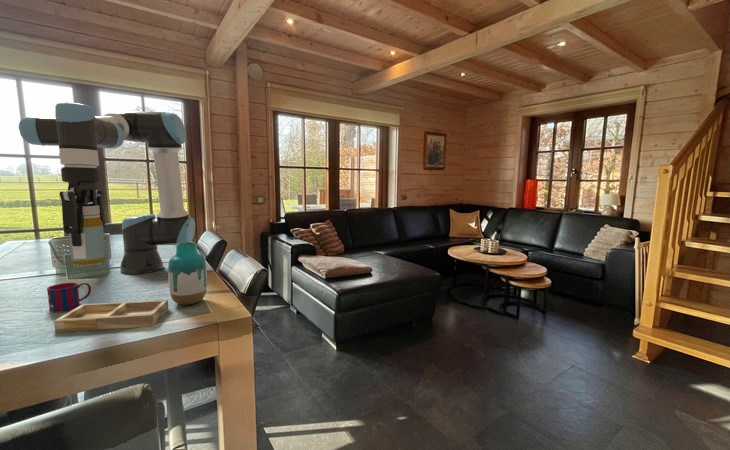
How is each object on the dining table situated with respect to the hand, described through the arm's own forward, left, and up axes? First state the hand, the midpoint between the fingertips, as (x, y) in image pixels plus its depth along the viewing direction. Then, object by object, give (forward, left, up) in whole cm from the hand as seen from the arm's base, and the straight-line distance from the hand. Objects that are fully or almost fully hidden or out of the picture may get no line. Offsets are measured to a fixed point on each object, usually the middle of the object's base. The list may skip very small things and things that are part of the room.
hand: (88, 255), depth 87 cm
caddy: (0, +5, -18) cm, 19 cm away
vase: (-11, +21, -19) cm, 30 cm away
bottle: (0, 0, -2) cm, 2 cm away
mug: (-13, -13, -19) cm, 26 cm away
